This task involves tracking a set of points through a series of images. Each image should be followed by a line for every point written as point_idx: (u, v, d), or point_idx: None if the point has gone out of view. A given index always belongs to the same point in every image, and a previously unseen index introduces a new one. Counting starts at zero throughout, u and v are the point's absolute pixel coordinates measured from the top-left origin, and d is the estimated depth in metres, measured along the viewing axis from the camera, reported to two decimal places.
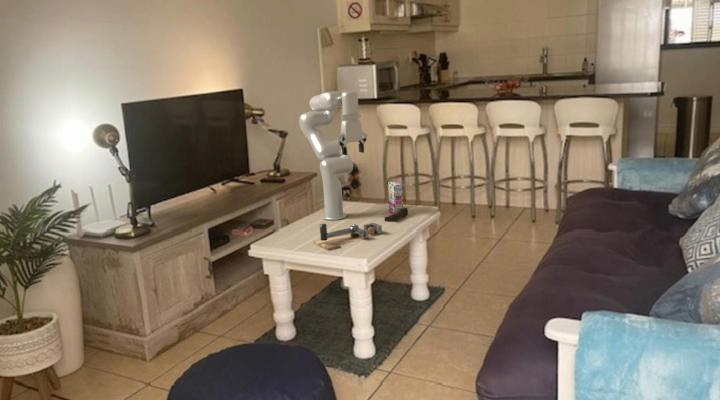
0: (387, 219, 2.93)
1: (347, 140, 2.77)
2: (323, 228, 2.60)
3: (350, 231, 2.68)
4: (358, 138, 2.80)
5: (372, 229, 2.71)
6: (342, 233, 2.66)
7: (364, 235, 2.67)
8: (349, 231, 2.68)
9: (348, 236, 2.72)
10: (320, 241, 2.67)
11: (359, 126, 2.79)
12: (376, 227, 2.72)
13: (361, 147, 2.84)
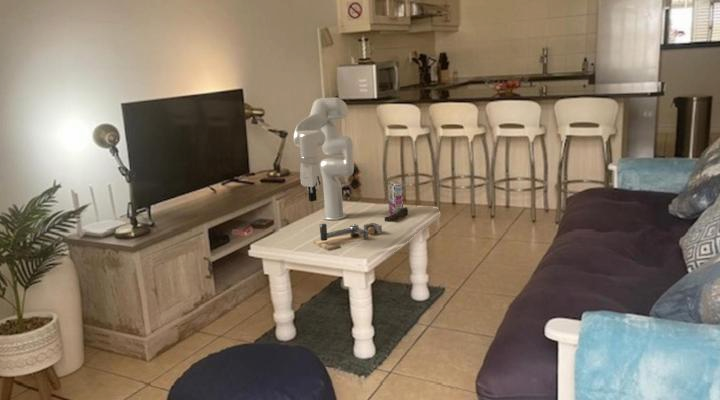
0: (387, 219, 2.93)
1: None
2: (323, 228, 2.60)
3: (350, 231, 2.68)
4: None
5: (372, 229, 2.71)
6: (342, 233, 2.66)
7: (364, 235, 2.67)
8: (349, 231, 2.68)
9: (348, 236, 2.72)
10: (320, 241, 2.67)
11: None
12: (376, 227, 2.72)
13: None
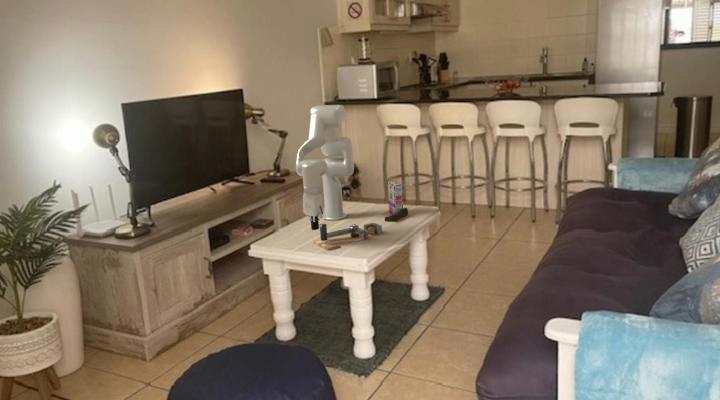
0: (387, 219, 2.93)
1: None
2: (323, 228, 2.60)
3: (350, 231, 2.68)
4: None
5: (372, 229, 2.71)
6: (342, 233, 2.66)
7: (364, 235, 2.67)
8: (349, 231, 2.68)
9: (348, 236, 2.72)
10: (320, 241, 2.67)
11: None
12: (376, 227, 2.72)
13: None
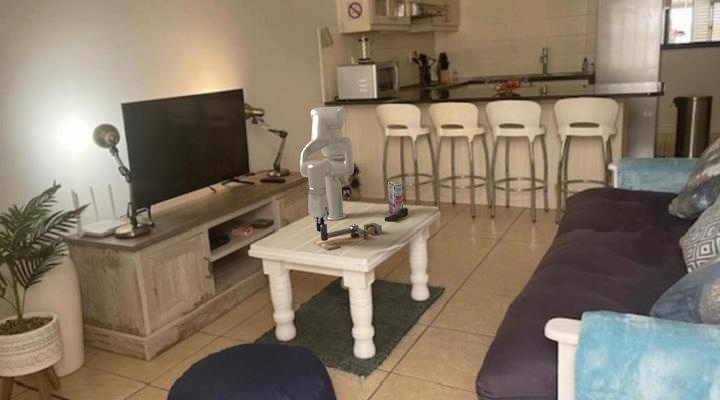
0: (387, 219, 2.93)
1: None
2: (323, 228, 2.60)
3: (350, 231, 2.68)
4: None
5: (372, 229, 2.71)
6: (342, 233, 2.66)
7: (364, 235, 2.67)
8: (349, 231, 2.68)
9: (348, 236, 2.72)
10: (320, 241, 2.67)
11: None
12: (376, 227, 2.72)
13: None
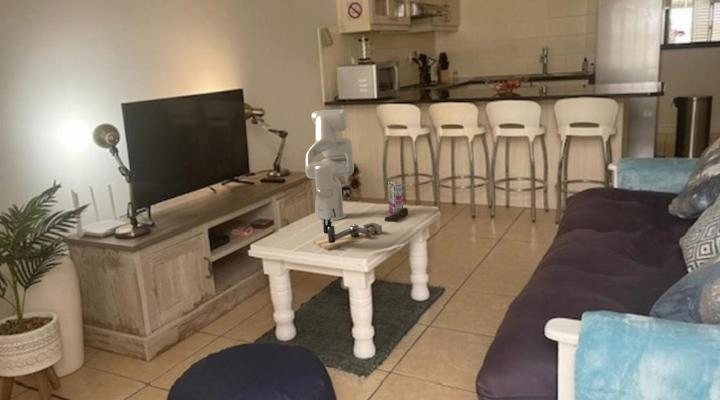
0: (387, 219, 2.93)
1: None
2: (332, 230, 2.56)
3: (352, 231, 2.68)
4: None
5: (372, 229, 2.71)
6: (346, 234, 2.65)
7: (367, 234, 2.69)
8: (352, 231, 2.67)
9: (348, 236, 2.72)
10: (320, 241, 2.67)
11: None
12: (376, 227, 2.72)
13: None
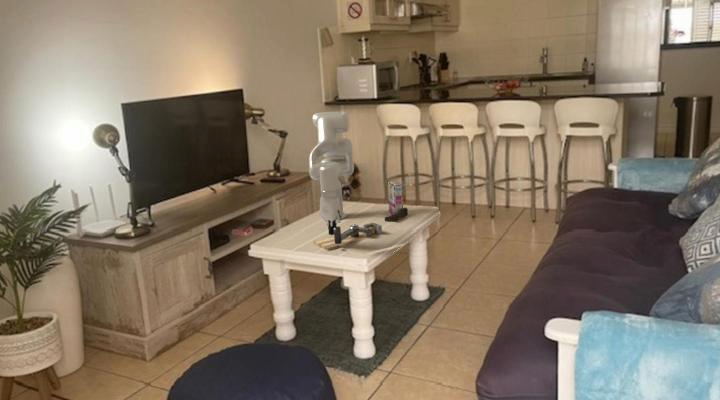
0: (387, 219, 2.93)
1: None
2: (339, 230, 2.55)
3: (354, 231, 2.68)
4: None
5: (372, 229, 2.71)
6: (349, 234, 2.64)
7: (368, 233, 2.70)
8: (353, 231, 2.67)
9: None
10: (320, 241, 2.67)
11: None
12: (376, 227, 2.72)
13: None
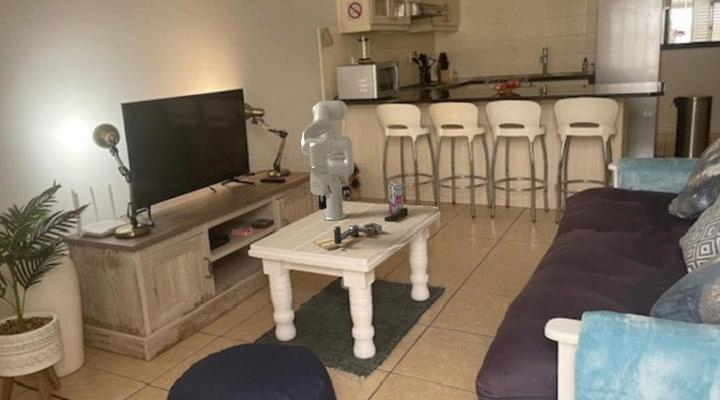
0: (387, 219, 2.93)
1: None
2: (339, 230, 2.55)
3: (354, 231, 2.68)
4: None
5: (372, 229, 2.71)
6: (349, 234, 2.64)
7: (368, 233, 2.70)
8: (353, 231, 2.67)
9: None
10: (320, 241, 2.67)
11: None
12: (376, 227, 2.72)
13: None
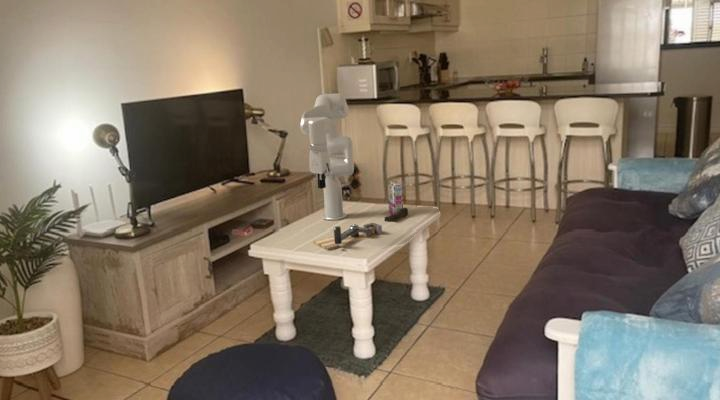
0: (387, 219, 2.93)
1: None
2: (339, 230, 2.55)
3: (354, 231, 2.68)
4: None
5: (372, 229, 2.71)
6: (349, 234, 2.64)
7: (368, 233, 2.70)
8: (353, 231, 2.67)
9: None
10: (320, 241, 2.67)
11: None
12: (376, 227, 2.72)
13: None
